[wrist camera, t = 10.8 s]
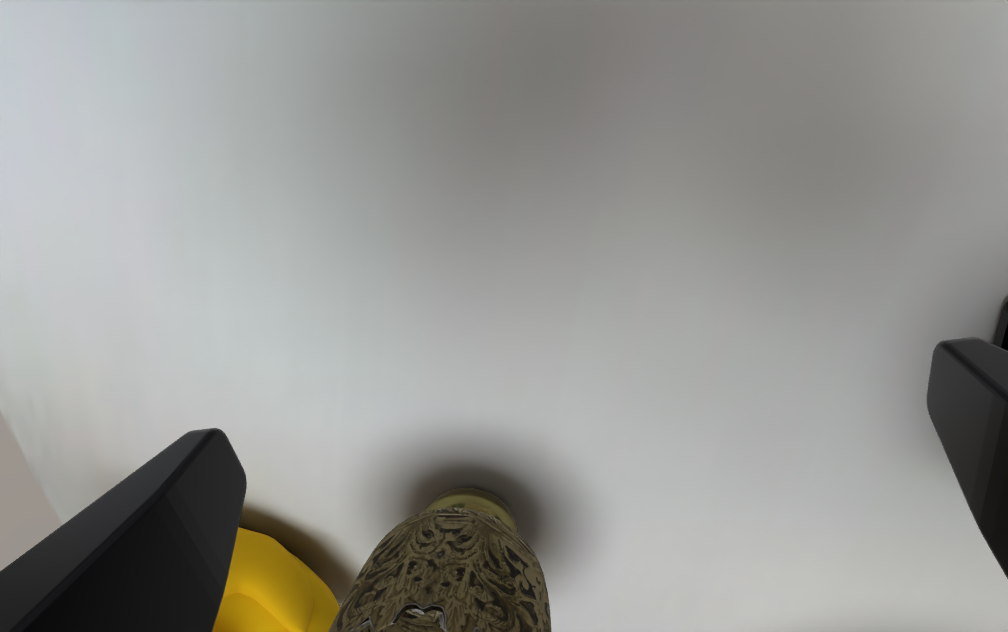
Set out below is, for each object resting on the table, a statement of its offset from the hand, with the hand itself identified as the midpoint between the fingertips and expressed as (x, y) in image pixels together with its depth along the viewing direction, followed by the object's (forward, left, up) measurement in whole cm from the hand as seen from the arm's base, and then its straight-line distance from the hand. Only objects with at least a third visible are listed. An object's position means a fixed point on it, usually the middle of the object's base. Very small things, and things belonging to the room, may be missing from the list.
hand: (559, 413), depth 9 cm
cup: (+5, +15, -13) cm, 20 cm away
